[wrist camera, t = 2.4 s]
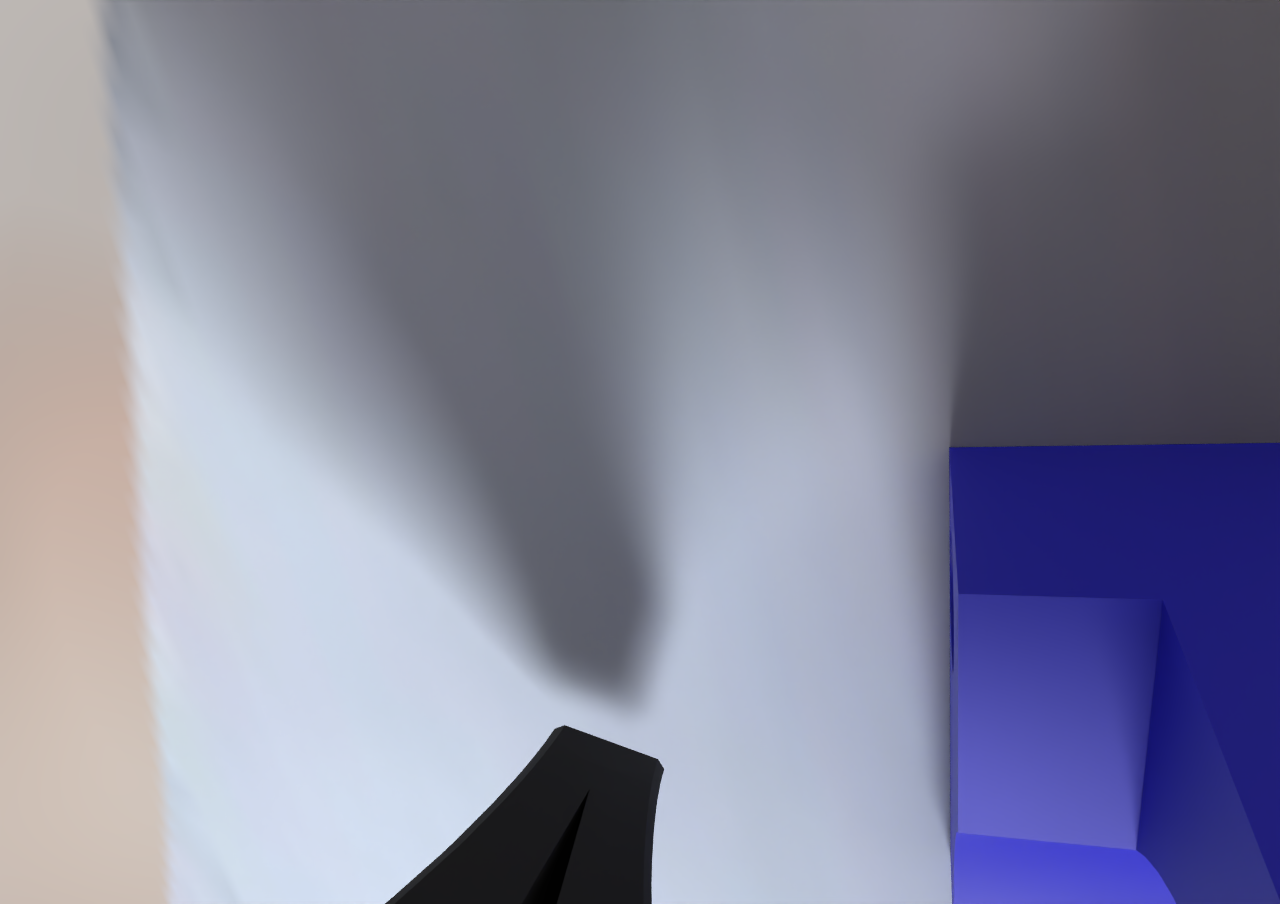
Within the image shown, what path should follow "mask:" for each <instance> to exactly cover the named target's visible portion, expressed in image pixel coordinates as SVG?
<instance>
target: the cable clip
mask: <svg viewBox="0 0 1280 904" xmlns="http://www.w3.org/2000/svg"><path fill="white" fill-rule="evenodd" d="M949 501H950V830H951V882H952V904H1280V443H1234V444H1162V445H1090V446H1017V447H949Z"/></svg>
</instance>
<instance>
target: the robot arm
mask: <svg viewBox="0 0 1280 904" xmlns="http://www.w3.org/2000/svg"><path fill="white" fill-rule="evenodd" d="M663 771H664V768H663V767H662V765H661V763H660V762H659V760H658V759H656V758H653V757H650V756H648V755H645V754H642V753H639V752H637V751H634V750H631V749H628V748H626V747H623V746H620V745H617V744H615V743H612V742H609V741H606V740H604V739H601V738H598V737H596V736H593V735H590V734H587V733H585V732H582V731H579V730H576V729H574V728H571V727H568V726H565V725H564V726H562V727H559V728H556V729H554V731H553V732H552V733H551V735H550V736H549V738H548V739H547V741H546V742H545V743H544V745H543V746H542V747H541V749H540V750H539V751H538V752H537V754H536V755H535V756H534V757H533V759H532V760H531V761H530V762H529V763H528V765H527V766H526V767H525V768H524V769H523V771H522V772H521V773H520V774H519V775H518V776H517V777H516V779H515V780H514V781H513V782H512V783H511V784H510V785H509V786H508V787H507V788H506V790H505V791H504V792H503V793H502V794H501V795H500V796H499V797H498V798H497V799H496V800H495V802H494V803H493V804H492V805H491V806H490V807H489V808H488V809H487V810H486V811H485V812H484V813H483V814H482V815H481V816H480V817H479V818H478V819H477V820H476V821H475V822H474V823H473V824H472V825H471V826H470V827H469V828H468V829H467V830H466V831H465V832H464V833H463V834H462V835H461V836H460V837H459V838H458V839H457V840H456V841H455V842H454V843H453V844H452V845H450V846H449V847H448V848H447V849H446V850H445V851H444V852H443V853H442V854H441V855H440V856H439V857H438V858H436V859H435V860H434V861H433V862H432V863H431V864H430V865H429V866H427V867H426V868H425V869H424V870H423V871H422V872H421V873H420V874H418V875H417V876H416V877H415V878H414V879H413V880H412V881H411V882H409V883H408V884H407V885H406V886H405V887H404V888H403V889H402V890H400V891H399V892H398V893H397V894H396V895H395V896H394V897H393V898H391V899H390V900H389V901H388V902H387V903H385V904H652V897H651V878H652V851H653V834H654V823H655V813H656V805H657V799H658V793H659V788H660V783H661V778H662V775H663Z"/></svg>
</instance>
